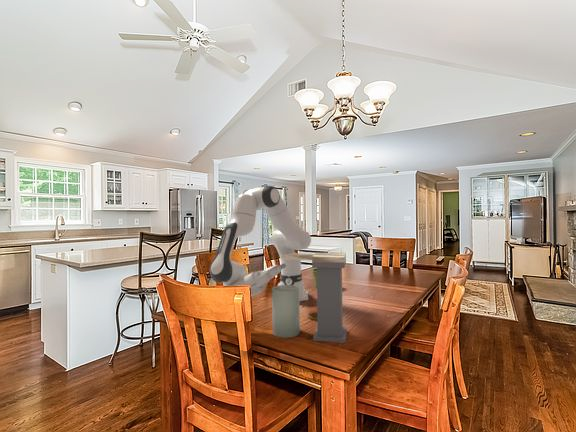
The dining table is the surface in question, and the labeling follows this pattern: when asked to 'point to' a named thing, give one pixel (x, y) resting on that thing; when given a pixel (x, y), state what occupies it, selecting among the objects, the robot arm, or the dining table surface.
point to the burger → (313, 313)
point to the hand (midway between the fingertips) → (282, 266)
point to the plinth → (329, 303)
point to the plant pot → (315, 276)
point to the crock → (285, 311)
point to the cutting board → (317, 257)
